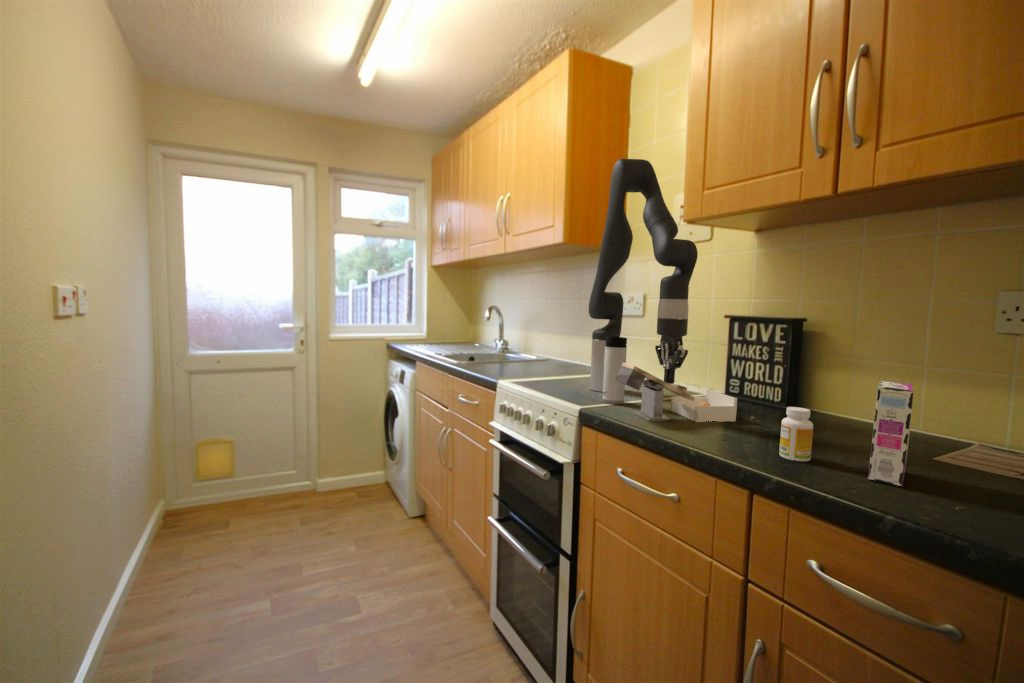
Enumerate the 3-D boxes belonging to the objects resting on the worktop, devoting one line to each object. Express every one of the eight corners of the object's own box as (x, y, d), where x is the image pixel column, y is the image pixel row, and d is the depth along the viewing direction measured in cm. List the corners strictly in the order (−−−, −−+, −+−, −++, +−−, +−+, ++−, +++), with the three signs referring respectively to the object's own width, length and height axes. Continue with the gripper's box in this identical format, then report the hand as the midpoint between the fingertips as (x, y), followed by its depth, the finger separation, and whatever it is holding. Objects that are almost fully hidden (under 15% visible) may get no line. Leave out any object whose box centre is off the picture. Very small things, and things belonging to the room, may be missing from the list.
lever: (625, 383, 118) (636, 361, 118) (614, 379, 125) (625, 358, 125) (686, 415, 122) (697, 393, 122) (672, 408, 129) (682, 388, 129)
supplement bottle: (813, 458, 93) (817, 409, 92) (807, 464, 89) (811, 413, 88) (783, 451, 97) (786, 404, 96) (775, 457, 93) (779, 408, 92)
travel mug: (601, 403, 139) (604, 335, 137) (603, 399, 145) (606, 334, 143) (622, 405, 137) (626, 336, 135) (624, 401, 143) (627, 335, 141)
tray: (670, 411, 131) (671, 389, 131) (707, 410, 134) (709, 389, 133) (695, 422, 120) (697, 398, 119) (735, 421, 122) (737, 398, 121)
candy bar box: (905, 488, 78) (914, 390, 77) (867, 480, 81) (876, 386, 80) (904, 471, 87) (913, 383, 85) (870, 465, 90) (878, 379, 89)
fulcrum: (632, 413, 128) (634, 378, 127) (653, 412, 129) (655, 378, 128) (648, 421, 119) (650, 384, 118) (670, 420, 120) (672, 384, 119)
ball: (705, 413, 128) (694, 411, 128) (708, 402, 128) (697, 400, 128) (712, 416, 125) (701, 414, 125) (715, 405, 125) (704, 402, 125)
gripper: (647, 316, 128) (644, 379, 130) (672, 317, 115) (668, 387, 117) (672, 316, 130) (669, 379, 131) (700, 318, 117) (696, 387, 118)
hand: (669, 383), depth 124 cm, fingers closed
